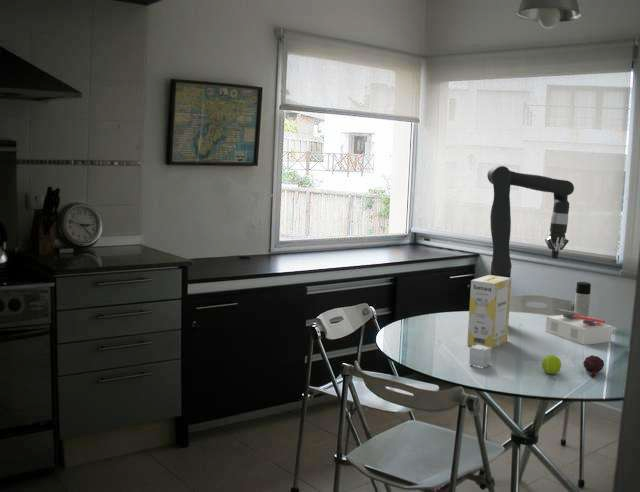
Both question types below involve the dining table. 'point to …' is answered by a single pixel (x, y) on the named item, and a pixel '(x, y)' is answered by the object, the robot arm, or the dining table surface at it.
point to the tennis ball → (551, 364)
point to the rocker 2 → (589, 319)
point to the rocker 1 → (568, 312)
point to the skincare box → (480, 355)
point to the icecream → (593, 365)
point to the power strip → (579, 329)
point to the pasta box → (489, 311)
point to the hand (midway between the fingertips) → (554, 258)
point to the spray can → (582, 298)
